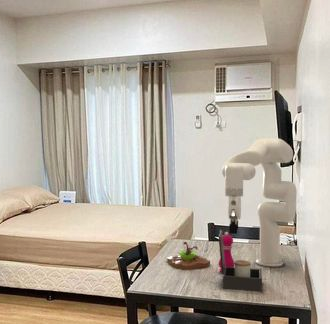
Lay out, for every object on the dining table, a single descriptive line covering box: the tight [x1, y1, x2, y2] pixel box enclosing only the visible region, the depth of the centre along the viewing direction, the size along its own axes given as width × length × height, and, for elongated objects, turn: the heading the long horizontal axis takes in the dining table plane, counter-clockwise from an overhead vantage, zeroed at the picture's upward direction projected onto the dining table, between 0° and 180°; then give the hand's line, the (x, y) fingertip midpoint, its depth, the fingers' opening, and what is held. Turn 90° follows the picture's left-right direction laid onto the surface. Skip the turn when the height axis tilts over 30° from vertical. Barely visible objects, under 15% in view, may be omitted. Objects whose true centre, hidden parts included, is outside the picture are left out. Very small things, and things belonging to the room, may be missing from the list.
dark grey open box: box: [222, 266, 263, 293], centre depth 208 cm, size 16×15×6 cm
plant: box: [166, 241, 211, 271], centre depth 246 cm, size 20×20×11 cm
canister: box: [234, 259, 252, 277], centre depth 208 cm, size 7×7×10 cm
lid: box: [218, 229, 225, 276], centre depth 210 cm, size 16×15×1 cm
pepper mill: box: [218, 231, 235, 274], centre depth 228 cm, size 7×7×20 cm
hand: (233, 231), depth 211 cm, fingers open, 9 cm apart
